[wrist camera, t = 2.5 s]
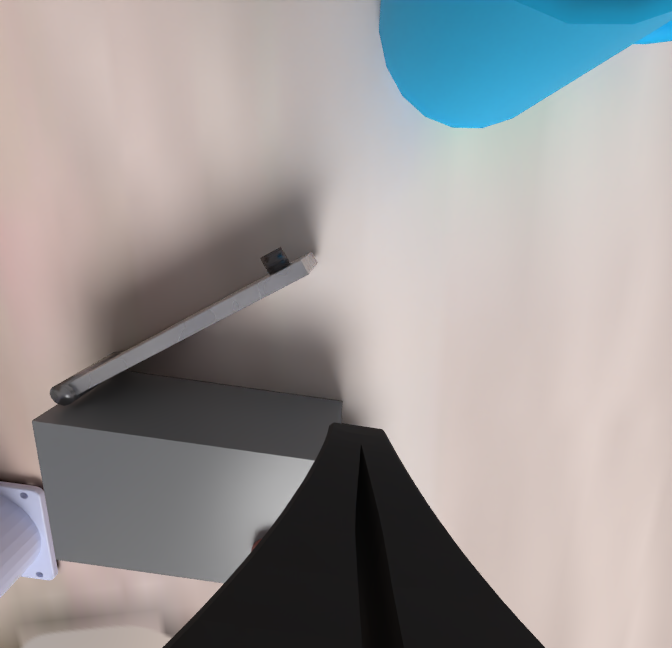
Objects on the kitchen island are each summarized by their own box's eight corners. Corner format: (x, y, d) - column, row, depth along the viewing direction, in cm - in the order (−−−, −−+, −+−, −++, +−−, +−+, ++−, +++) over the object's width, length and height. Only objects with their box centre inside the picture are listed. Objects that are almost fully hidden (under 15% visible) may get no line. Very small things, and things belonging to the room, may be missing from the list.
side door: (117, 371, 19) (60, 408, 15) (99, 347, 18) (36, 380, 15) (319, 265, 16) (310, 279, 13) (303, 235, 16) (289, 241, 12)
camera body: (122, 485, 21) (44, 576, 16) (113, 369, 19) (15, 431, 13) (352, 517, 21) (353, 620, 16) (374, 405, 19) (383, 482, 13)
